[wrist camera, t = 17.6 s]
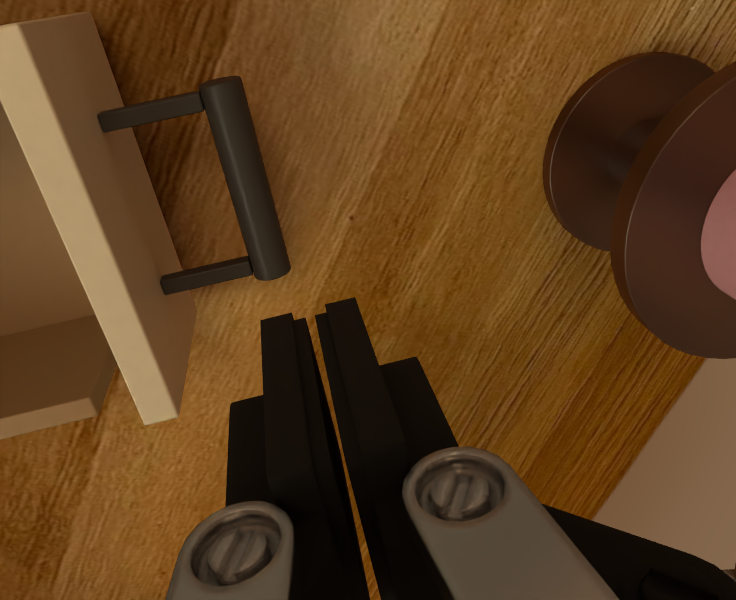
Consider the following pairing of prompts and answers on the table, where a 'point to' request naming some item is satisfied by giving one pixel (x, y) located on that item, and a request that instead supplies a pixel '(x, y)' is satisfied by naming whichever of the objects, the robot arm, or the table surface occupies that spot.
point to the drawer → (103, 230)
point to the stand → (651, 188)
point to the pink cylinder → (721, 238)
